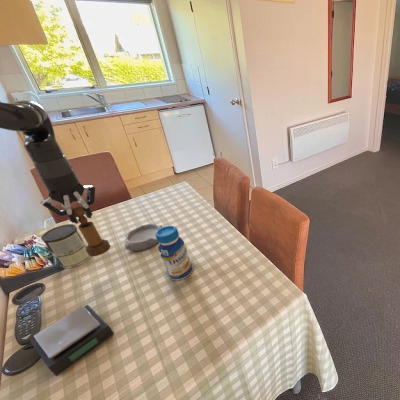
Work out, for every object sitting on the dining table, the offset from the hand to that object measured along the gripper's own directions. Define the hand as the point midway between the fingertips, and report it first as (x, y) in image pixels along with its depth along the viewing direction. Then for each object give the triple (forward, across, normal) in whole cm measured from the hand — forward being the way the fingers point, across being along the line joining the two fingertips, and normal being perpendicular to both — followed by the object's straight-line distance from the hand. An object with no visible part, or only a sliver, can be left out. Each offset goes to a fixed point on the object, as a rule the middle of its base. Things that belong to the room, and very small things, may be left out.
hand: (82, 219), depth 88 cm
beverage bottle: (+26, -14, +21) cm, 36 cm away
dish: (+26, -18, -10) cm, 33 cm away
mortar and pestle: (+13, 0, 0) cm, 13 cm away
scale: (+26, +19, +19) cm, 37 cm away
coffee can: (+26, +3, -23) cm, 35 cm away
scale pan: (+21, +19, +19) cm, 34 cm away
